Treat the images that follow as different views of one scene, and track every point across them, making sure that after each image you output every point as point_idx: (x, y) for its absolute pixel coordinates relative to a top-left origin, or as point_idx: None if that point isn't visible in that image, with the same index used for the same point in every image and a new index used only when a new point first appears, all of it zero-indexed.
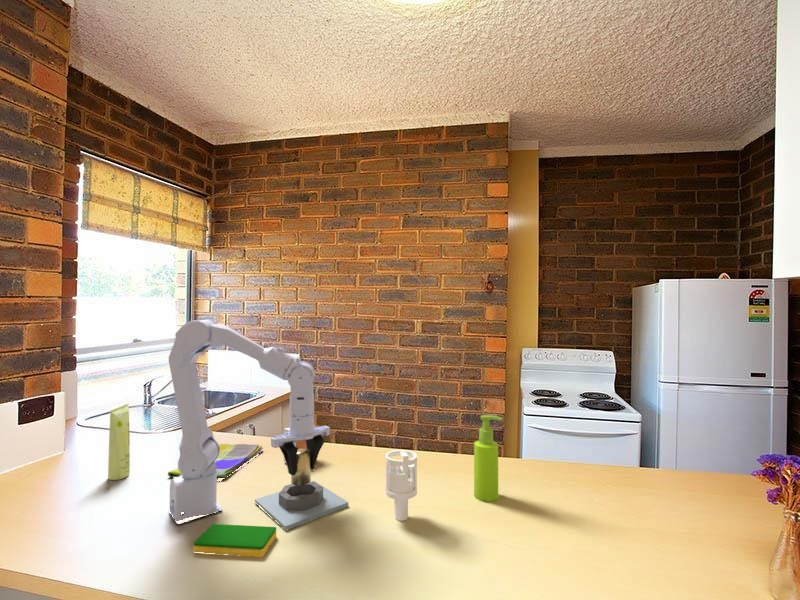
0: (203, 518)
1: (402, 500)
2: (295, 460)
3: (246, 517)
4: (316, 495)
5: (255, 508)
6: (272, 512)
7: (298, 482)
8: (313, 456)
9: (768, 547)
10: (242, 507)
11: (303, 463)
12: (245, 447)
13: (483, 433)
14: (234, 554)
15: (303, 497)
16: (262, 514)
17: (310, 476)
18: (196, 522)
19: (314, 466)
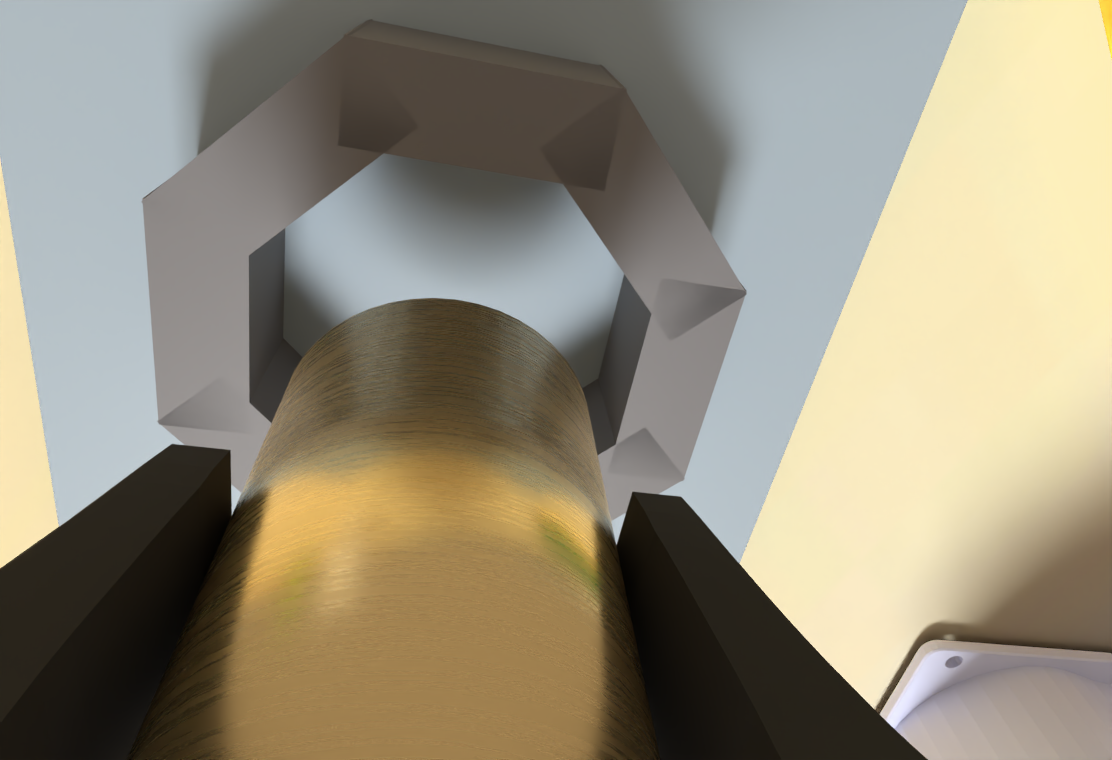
0: (1044, 640)
1: None
2: (769, 731)
3: (908, 458)
4: (394, 46)
5: (759, 526)
6: (813, 321)
7: (568, 376)
8: (62, 679)
9: None
10: (800, 600)
11: (497, 578)
12: None
13: None
14: None
15: (576, 155)
16: (806, 406)
17: (306, 377)
18: (1103, 626)
19: (149, 467)
